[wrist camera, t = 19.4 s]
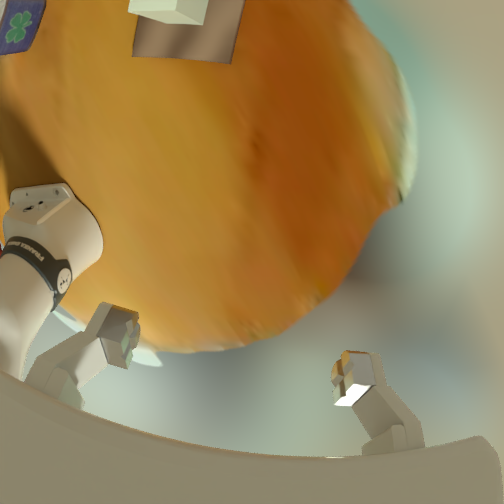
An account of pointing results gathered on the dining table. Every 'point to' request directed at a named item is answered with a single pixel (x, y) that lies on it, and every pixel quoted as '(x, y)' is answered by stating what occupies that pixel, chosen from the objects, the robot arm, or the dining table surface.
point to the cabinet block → (171, 10)
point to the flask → (19, 24)
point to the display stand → (192, 35)
